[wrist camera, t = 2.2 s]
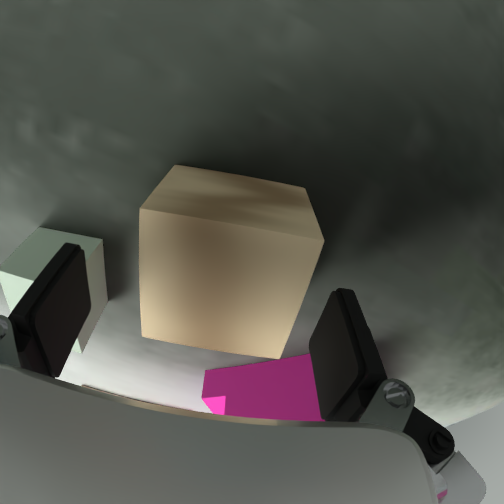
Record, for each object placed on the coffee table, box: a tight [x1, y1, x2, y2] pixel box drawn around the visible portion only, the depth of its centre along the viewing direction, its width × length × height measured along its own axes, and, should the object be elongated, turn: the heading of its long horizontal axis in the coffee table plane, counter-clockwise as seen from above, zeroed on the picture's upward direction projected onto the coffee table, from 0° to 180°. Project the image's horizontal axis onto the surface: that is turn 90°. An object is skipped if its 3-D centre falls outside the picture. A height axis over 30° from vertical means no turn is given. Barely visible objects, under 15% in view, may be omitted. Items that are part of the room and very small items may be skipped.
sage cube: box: [0, 227, 108, 353], centre depth 15 cm, size 4×4×4 cm
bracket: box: [202, 354, 325, 421], centre depth 19 cm, size 12×10×10 cm
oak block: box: [139, 165, 324, 359], centre depth 14 cm, size 6×6×5 cm
